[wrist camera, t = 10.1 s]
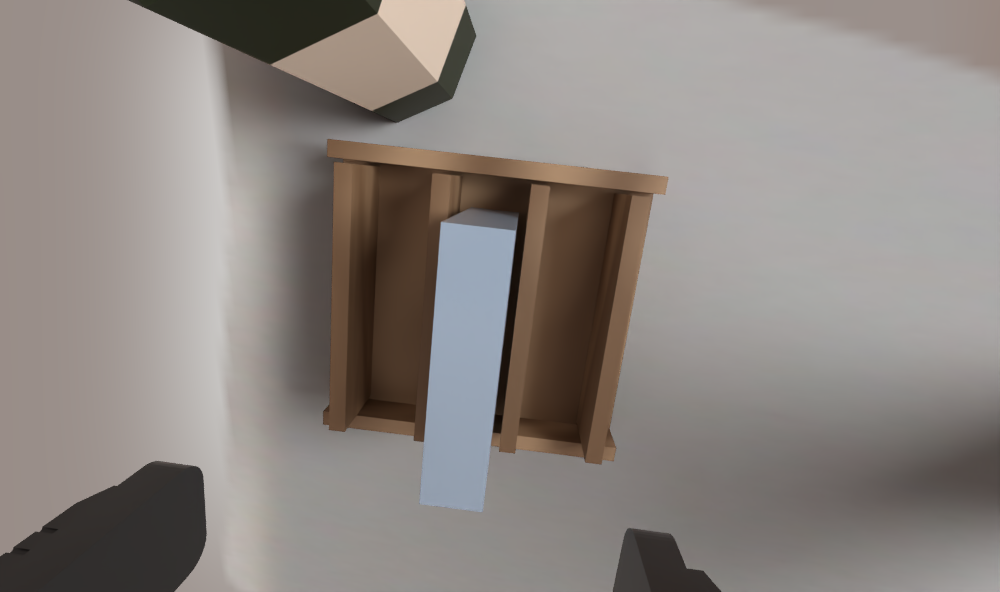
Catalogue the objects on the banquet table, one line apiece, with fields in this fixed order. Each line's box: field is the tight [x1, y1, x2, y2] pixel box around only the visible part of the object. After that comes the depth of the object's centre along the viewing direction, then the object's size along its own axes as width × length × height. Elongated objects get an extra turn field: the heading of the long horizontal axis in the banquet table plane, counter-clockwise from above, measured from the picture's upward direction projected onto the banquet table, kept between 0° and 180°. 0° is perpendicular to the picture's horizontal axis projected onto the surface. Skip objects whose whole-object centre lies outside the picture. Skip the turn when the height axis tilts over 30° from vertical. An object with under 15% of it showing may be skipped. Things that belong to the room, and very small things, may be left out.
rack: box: [323, 139, 668, 464], centre depth 24 cm, size 16×15×5 cm
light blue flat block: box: [419, 207, 519, 512], centre depth 21 cm, size 2×11×9 cm, turn 174°
